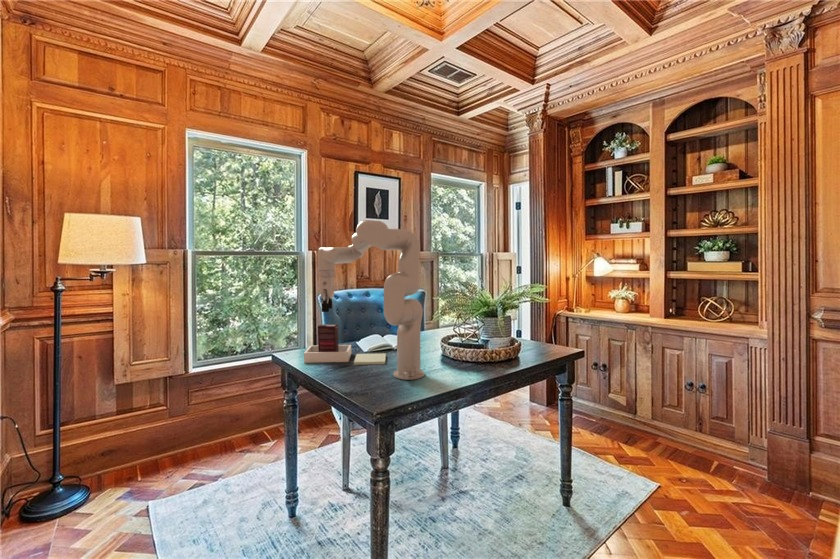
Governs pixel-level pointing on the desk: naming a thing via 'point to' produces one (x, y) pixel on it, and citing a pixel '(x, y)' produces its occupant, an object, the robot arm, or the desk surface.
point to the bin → (327, 354)
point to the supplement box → (328, 338)
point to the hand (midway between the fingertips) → (327, 310)
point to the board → (370, 359)
